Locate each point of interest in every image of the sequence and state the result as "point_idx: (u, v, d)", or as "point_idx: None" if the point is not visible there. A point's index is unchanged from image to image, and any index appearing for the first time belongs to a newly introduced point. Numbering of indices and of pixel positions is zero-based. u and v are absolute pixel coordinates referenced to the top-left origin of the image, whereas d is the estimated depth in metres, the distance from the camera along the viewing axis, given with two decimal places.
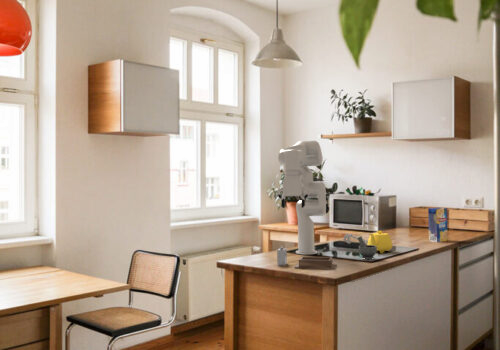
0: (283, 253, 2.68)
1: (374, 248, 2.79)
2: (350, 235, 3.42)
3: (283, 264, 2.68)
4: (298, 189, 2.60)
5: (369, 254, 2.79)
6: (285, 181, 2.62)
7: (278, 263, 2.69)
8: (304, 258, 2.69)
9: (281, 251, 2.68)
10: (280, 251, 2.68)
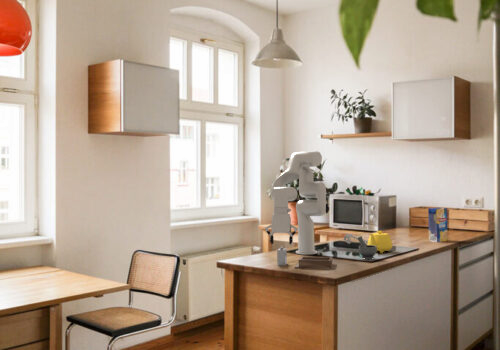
0: (283, 253, 2.68)
1: (374, 248, 2.79)
2: (350, 235, 3.42)
3: (283, 264, 2.68)
4: (286, 226, 2.68)
5: (369, 254, 2.79)
6: (273, 218, 2.70)
7: (278, 263, 2.69)
8: (304, 258, 2.69)
9: (281, 251, 2.68)
10: (280, 251, 2.68)
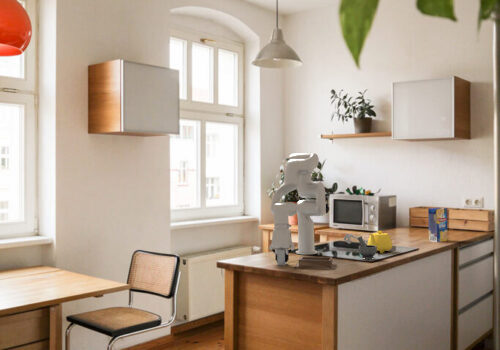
0: (283, 253, 2.68)
1: (374, 248, 2.79)
2: (350, 235, 3.42)
3: (283, 264, 2.68)
4: (286, 242, 2.68)
5: (369, 254, 2.79)
6: (274, 234, 2.70)
7: (278, 263, 2.69)
8: (304, 258, 2.69)
9: (281, 251, 2.68)
10: (280, 251, 2.68)
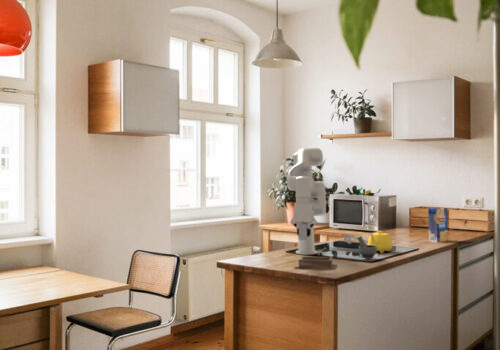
0: (305, 227, 2.63)
1: (374, 248, 2.79)
2: (350, 235, 3.42)
3: (305, 238, 2.63)
4: (308, 216, 2.63)
5: (369, 254, 2.79)
6: (296, 208, 2.65)
7: (300, 237, 2.63)
8: (304, 258, 2.69)
9: (303, 225, 2.63)
10: (302, 225, 2.63)
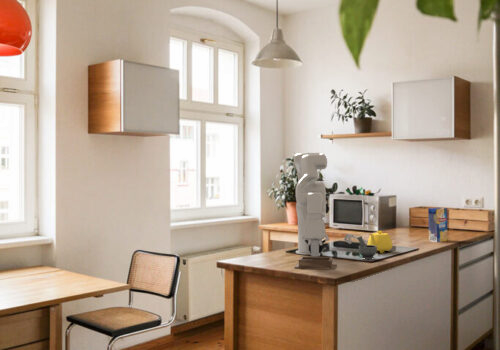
0: (317, 243, 2.60)
1: (374, 248, 2.79)
2: (351, 235, 3.42)
3: (317, 255, 2.60)
4: (320, 232, 2.60)
5: (369, 254, 2.79)
6: (307, 224, 2.62)
7: (312, 254, 2.60)
8: (304, 258, 2.69)
9: (315, 241, 2.60)
10: (314, 241, 2.60)
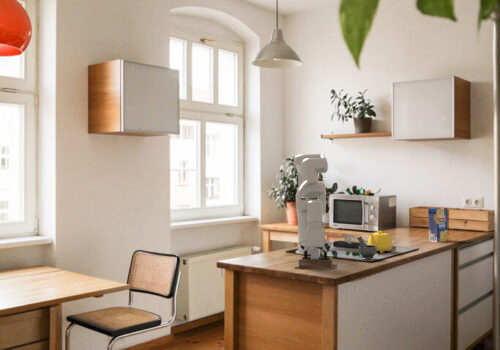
0: (317, 253, 2.60)
1: (374, 248, 2.79)
2: (351, 235, 3.42)
3: None
4: (321, 241, 2.60)
5: (369, 254, 2.79)
6: (307, 232, 2.62)
7: None
8: (304, 258, 2.69)
9: (315, 251, 2.60)
10: (314, 251, 2.61)
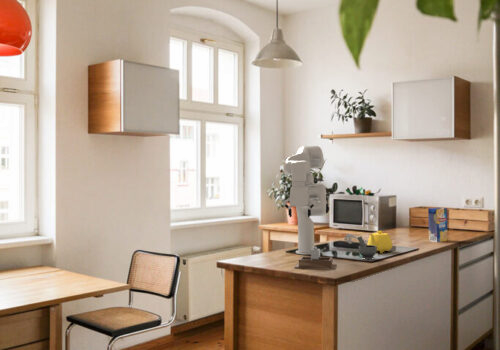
0: (317, 253, 2.60)
1: (374, 248, 2.79)
2: (351, 235, 3.42)
3: None
4: (304, 199, 2.72)
5: (369, 254, 2.79)
6: (292, 192, 2.73)
7: None
8: (304, 258, 2.69)
9: (315, 251, 2.60)
10: (314, 251, 2.61)
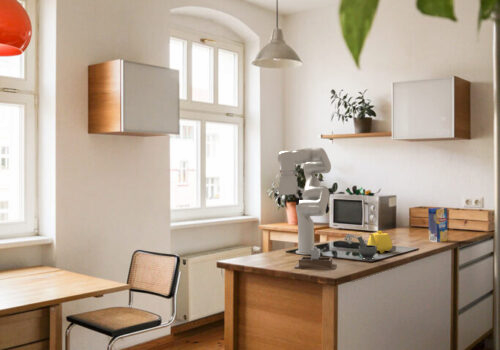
0: (317, 253, 2.60)
1: (374, 248, 2.79)
2: (351, 235, 3.42)
3: None
4: (293, 188, 2.79)
5: (369, 254, 2.79)
6: (281, 180, 2.81)
7: None
8: (304, 258, 2.69)
9: (315, 251, 2.60)
10: (314, 251, 2.61)
